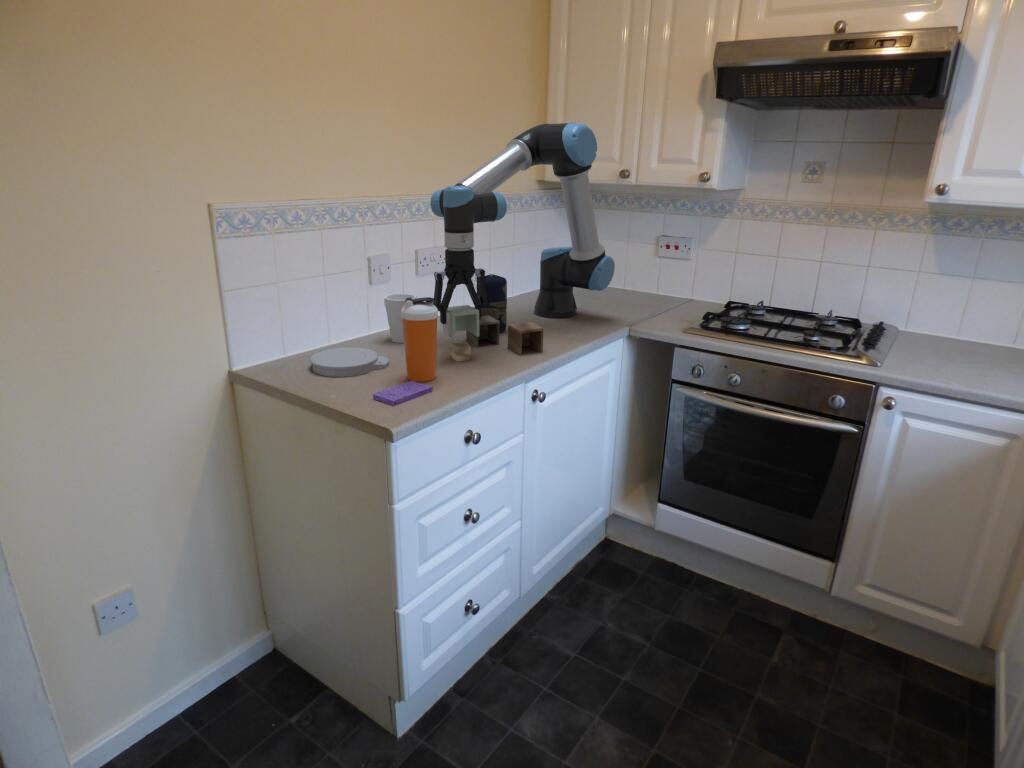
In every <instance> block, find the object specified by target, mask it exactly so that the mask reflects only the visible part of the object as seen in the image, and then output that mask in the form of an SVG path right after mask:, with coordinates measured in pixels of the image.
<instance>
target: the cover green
mask: <svg viewBox="0 0 1024 768" xmlns="http://www.w3.org/2000/svg"><path fill="white" fill-rule="evenodd" d="M447 311H448V312H449V313H450V337H449V338H450V339H451V340H457V332H459V333H460V332H464V331H465V332H466V331H469V332H470V333H472V334H474V335H475V336H477V337H478V336H479V311H478V310H476V309H475V307H474V308H473V306H471V305H469V304H464V305H455V306H448V309H447ZM442 332H443V334H444V324H442Z"/></svg>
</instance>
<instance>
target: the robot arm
mask: <svg viewBox="0 0 1024 768" xmlns="http://www.w3.org/2000/svg"><path fill="white" fill-rule="evenodd" d="M597 151H598V142H597V138H596V135H595V133H594V131H593V129H591V127H589V126H588V125H587V124H585V123H576V122H568V123H567V122H565V123H564V122H563V123H562V122H561V123H560V122H559V123H541V124H538V125H534V126H533V127H530V128H529V129H526V130H525V131H523V132H522V133H520V134H518V135H517V136H515V137H513V138H512V139H511V140H510V141H508V142H507V144H506V146H505V148H504V149H503V150H501V152H499V153H498V154H496V155H495V156H494V157H492V158H491V159H489V160H488V161H487V162H485V163H484V164H482V165H480V166H479V167H478V168H477V169H476V170H473V172H471V173H470V174H468V175H467V176H466V177H464V178H463V179H461V180H460V181H458V182H457V183H456V184H454V185H451V186H446V187H445V188H443V189H438V190H436V191H434V192H433V194H432V195H431V197H430V208H431V209H430V210H431V211H432V213H433V214H434V215H435V216H436V217H440V218H443V224H444V225H443V226H444V247H445V250H444V262H445V265H444V270H442V271H439V272H438V271H434V274H433V276H434V281H435V282H434V283H435V284H434V292H433V298H435V300H433V305H435V306H436V308H437V309H438V312H439V318H440V319H439V321H440V324H442V325H443V324H444V333H443V335H444V336H445V337H446V338H450V313H449V312H448V311H447V309H448V307H450V306H449V305H450V303H451V299H452V296H453V294H454V291H455V290H456V288H457V286H460V285H465V287H466V289H467V291H468V294H469V297H470V298H471V301H472V304H473V306H474V307H473V306H472V307H473V308H475V309H476V310H478V311H479V320H481V309H482V308H483V306H487V305H488V301H487V295H486V288H485V281H484V277H485V276H486V270H485V269H484V268H483V269H482V268H480V267H479V268H476V267H475V250H474V249H473V247H474V246H475V245H474V244H475V243H474V242H475V241H474V238H475V235H474V233H475V232H474V230H475V228H474V227H475V224H479V223H490V222H491V223H495V222H497V221H501V220H502V219H503V218H504V217H505V216H506V214H507V211H508V204H507V203H508V202H507V199H506V198H505V196H504V195H503V194H502V193H500V192H498V191H495V190H496V189H497V188H499V187H500V186H501V185H503V184H504V183H505V182H506V181H508V180H509V179H510V178H512V177H513V176H515V175H516V174H517V173H518V172H520V171H521V172H522V171H527V170H528V169H529V168H531V167H533V166H539V165H547V166H550V165H551V166H552V170H553V171H552V172H553V175H554V176H555V177H557V178H558V179H559V180H560V187H561V191H562V197H563V202H564V207H565V213H566V219H567V223H568V228H569V229H568V230H569V233H570V240H571V245H572V246H559V247H558V246H557V247H549V248H544V249H543V250H542V251H541V252H540V253H541V254H540V262H539V263H540V264H539V265H540V267H539V268H540V269H539V273H540V274H539V276H540V277H539V279H540V280H539V292H538V295H537V299H536V300H535V304H534V307H533V311H534V312H533V313H534V314H535V315H536V316H540V317H543V318H552V319H562V318H563V319H565V318H571V317H575V316H576V315H577V314H578V306H577V302H576V298H575V295H574V288H578V289H583V290H589V291H591V292H592V291H596V292H597V291H598V292H600V291H604V290H605V289H607V288H608V287H609V285H610V283H611V282H612V280H613V277H614V274H615V267H616V266H615V265H616V264H615V260H614V258H612V257H611V256H610V255H606V249H605V246H604V245H603V244H601V243H600V242H599V234H598V229H597V222H596V217H595V216H596V215H595V210H594V204H593V203H594V202H593V198H592V191H591V184H590V179H589V172H590V171H591V169H592V167H593V165H592V164H593V163H594V162H595V160H596V157H597ZM474 275H475V277H476V286H477V285H478V291H479V298H480V301H479V298H478V296H477V290H476V288H475V285H474V281H473V279H472V278H473V277H474ZM445 276H446V278H447V282H446V288H445V290H444V293H443V288H444V287H443V286H444V280H445ZM442 295H443V296H442Z"/></svg>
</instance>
